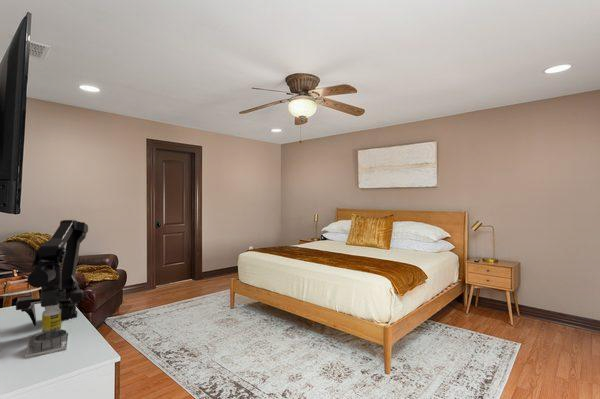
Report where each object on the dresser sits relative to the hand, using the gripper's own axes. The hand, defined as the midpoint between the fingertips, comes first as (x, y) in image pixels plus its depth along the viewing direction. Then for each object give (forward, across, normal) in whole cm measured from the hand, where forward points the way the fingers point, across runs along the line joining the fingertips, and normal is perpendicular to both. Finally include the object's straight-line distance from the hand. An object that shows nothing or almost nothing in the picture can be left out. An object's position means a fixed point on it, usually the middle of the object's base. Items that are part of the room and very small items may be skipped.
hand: (51, 322), depth 115 cm
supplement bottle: (+3, 0, 0) cm, 3 cm away
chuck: (+3, 0, -13) cm, 13 cm away
